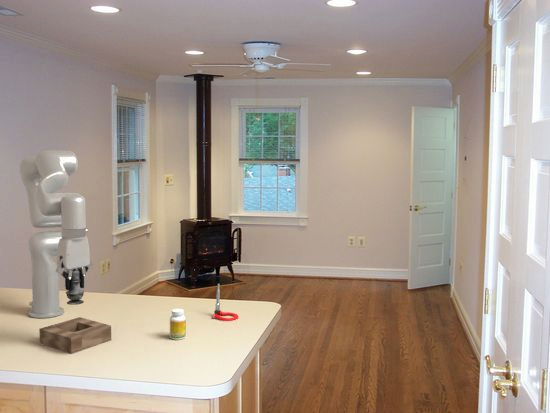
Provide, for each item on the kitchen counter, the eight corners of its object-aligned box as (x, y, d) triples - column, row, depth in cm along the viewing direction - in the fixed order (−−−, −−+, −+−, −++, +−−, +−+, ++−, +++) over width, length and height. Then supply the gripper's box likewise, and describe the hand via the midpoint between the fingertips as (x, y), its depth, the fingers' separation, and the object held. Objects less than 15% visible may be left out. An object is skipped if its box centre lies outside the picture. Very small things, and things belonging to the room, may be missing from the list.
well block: (39, 343, 196) (39, 328, 195) (79, 331, 209) (79, 317, 209) (71, 353, 187) (71, 338, 187) (111, 340, 200) (111, 325, 200)
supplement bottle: (167, 336, 205) (167, 309, 204) (183, 334, 208) (183, 307, 207) (172, 341, 201) (172, 313, 200) (187, 339, 203) (187, 311, 202)
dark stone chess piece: (78, 305, 193) (78, 269, 192) (62, 304, 194) (61, 268, 193) (88, 300, 199) (87, 265, 198) (71, 299, 200) (71, 264, 199)
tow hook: (241, 317, 230) (219, 313, 233) (243, 284, 229) (221, 281, 232) (233, 323, 223) (210, 319, 226) (234, 289, 221) (212, 286, 224)
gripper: (86, 229, 203) (87, 282, 205) (44, 235, 189) (45, 292, 191) (101, 231, 199) (102, 285, 201) (59, 238, 185) (60, 296, 187)
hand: (74, 288), depth 196 cm, fingers closed on dark stone chess piece, 3 cm apart
